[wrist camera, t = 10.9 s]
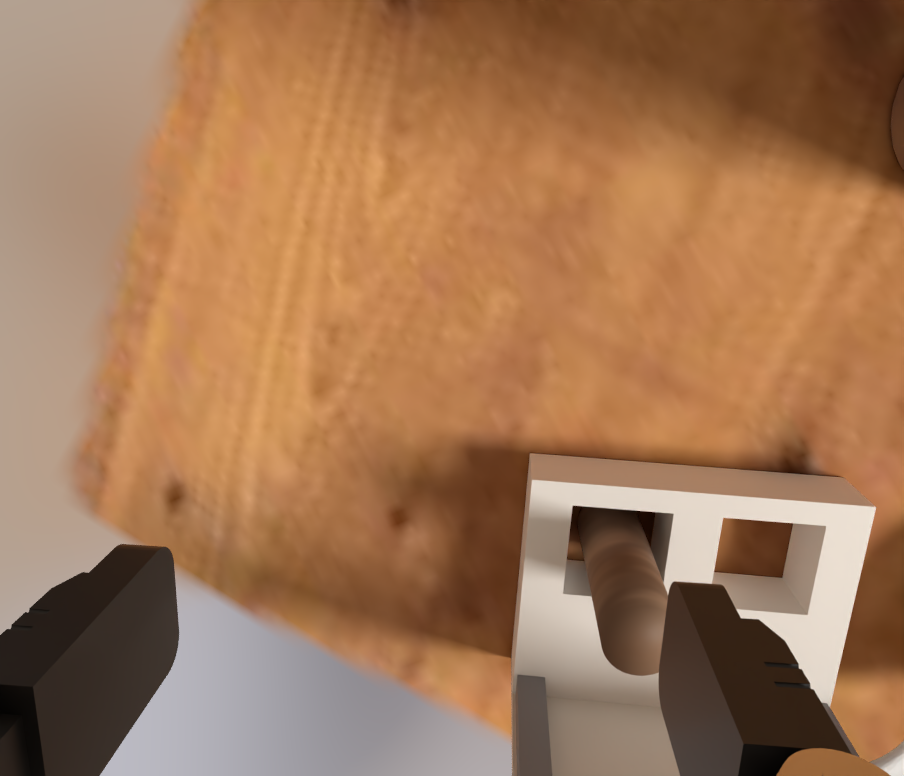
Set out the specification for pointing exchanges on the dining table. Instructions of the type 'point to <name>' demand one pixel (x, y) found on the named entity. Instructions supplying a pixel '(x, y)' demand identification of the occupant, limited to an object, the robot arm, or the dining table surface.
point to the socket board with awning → (678, 559)
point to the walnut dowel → (624, 588)
